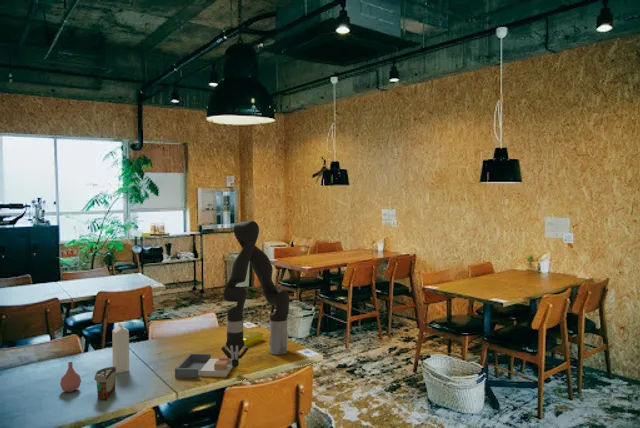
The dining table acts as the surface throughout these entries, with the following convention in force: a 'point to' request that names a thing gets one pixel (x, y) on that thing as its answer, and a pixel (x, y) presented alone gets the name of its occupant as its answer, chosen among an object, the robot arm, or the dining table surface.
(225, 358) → the tile inner
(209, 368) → the board
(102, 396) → the food container
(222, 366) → the tile outer
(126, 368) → the milk
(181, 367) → the tray
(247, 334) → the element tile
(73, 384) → the pink bulb-shaped piece
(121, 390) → the dining table surface
